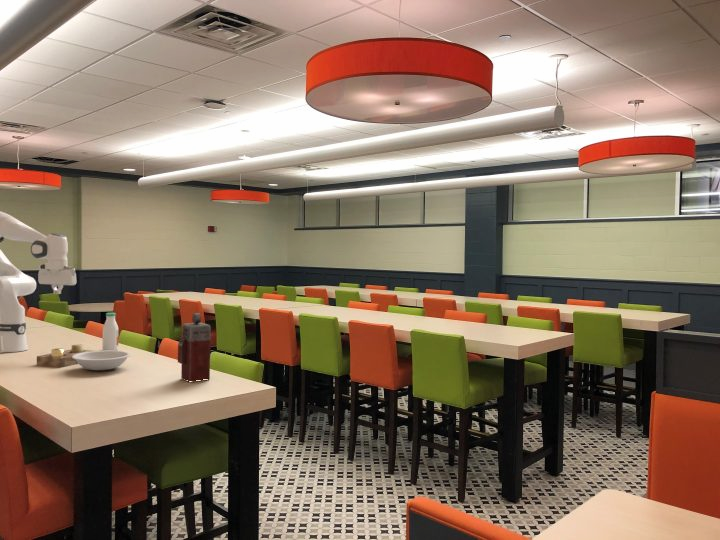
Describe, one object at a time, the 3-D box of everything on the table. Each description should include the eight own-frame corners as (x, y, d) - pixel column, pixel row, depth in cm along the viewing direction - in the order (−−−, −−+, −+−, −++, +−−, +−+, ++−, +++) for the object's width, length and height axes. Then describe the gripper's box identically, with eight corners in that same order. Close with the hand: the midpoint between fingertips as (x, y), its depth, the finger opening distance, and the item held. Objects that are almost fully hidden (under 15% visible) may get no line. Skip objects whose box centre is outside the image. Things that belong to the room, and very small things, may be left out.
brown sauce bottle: (175, 379, 236) (176, 312, 235) (201, 376, 243) (202, 311, 243) (184, 383, 229) (185, 314, 229) (209, 380, 236) (211, 313, 236)
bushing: (57, 362, 264) (57, 347, 264) (66, 363, 262) (66, 348, 262) (48, 364, 259) (49, 349, 259) (57, 365, 258) (57, 350, 258)
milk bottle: (114, 351, 296) (114, 313, 296) (99, 351, 297) (100, 313, 296) (120, 349, 304) (121, 312, 304) (106, 348, 304) (107, 312, 304)
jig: (36, 365, 258) (36, 349, 258) (73, 357, 279) (73, 342, 279) (61, 367, 254) (62, 351, 254) (96, 359, 275) (96, 344, 275)
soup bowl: (59, 370, 247) (60, 355, 247) (107, 362, 268) (107, 348, 268) (95, 377, 236) (96, 361, 236) (142, 368, 257) (142, 353, 257)
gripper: (79, 266, 280) (79, 294, 280) (46, 265, 285) (45, 292, 285) (70, 266, 273) (69, 295, 274) (36, 265, 279) (35, 293, 279)
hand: (57, 293), depth 280 cm, fingers closed
